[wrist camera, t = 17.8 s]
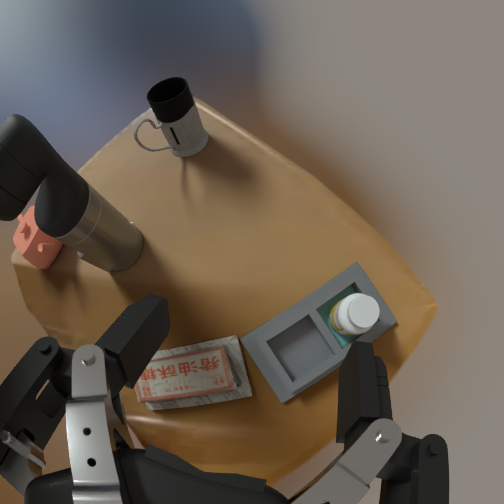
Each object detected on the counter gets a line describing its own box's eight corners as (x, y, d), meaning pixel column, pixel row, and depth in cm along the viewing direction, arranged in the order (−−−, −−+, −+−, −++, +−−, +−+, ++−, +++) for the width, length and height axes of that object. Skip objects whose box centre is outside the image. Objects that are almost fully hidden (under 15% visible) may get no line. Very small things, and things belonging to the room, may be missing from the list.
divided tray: (281, 402, 36) (282, 407, 33) (240, 338, 40) (237, 339, 37) (395, 321, 39) (403, 320, 36) (355, 262, 42) (361, 257, 39)
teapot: (50, 208, 52) (24, 189, 42) (85, 242, 48) (53, 223, 38) (28, 247, 50) (0, 232, 40) (59, 287, 46) (25, 275, 36)
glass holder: (216, 133, 53) (200, 79, 39) (174, 183, 50) (144, 133, 36) (185, 122, 55) (166, 72, 41) (145, 168, 52) (113, 122, 38)
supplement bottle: (367, 311, 39) (392, 302, 30) (350, 341, 38) (372, 341, 28) (339, 294, 40) (356, 280, 31) (321, 324, 39) (335, 319, 30)
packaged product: (137, 415, 33) (123, 355, 36) (150, 409, 38) (137, 354, 41) (251, 401, 33) (233, 334, 36) (254, 394, 38) (238, 334, 41)
